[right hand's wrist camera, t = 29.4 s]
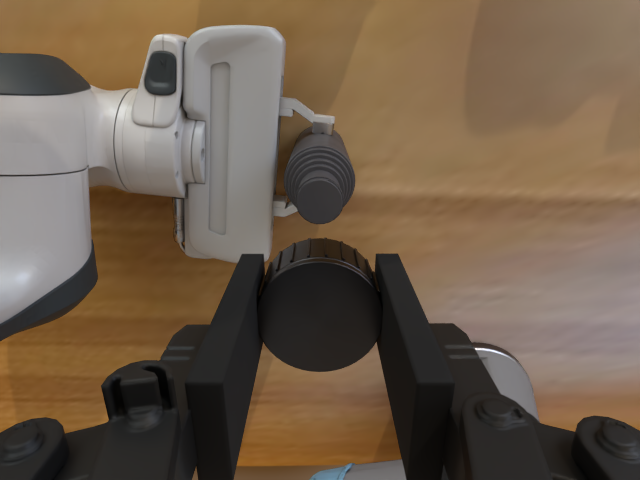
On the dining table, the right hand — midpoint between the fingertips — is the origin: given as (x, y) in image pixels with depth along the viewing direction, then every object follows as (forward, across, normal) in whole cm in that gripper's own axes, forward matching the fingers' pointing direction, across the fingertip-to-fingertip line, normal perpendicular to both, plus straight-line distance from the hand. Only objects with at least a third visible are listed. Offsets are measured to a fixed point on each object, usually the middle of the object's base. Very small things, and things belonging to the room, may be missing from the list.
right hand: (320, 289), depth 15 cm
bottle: (+30, 0, 0) cm, 30 cm away
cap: (-2, 0, 0) cm, 2 cm away
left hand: (+24, -1, 0) cm, 24 cm away
